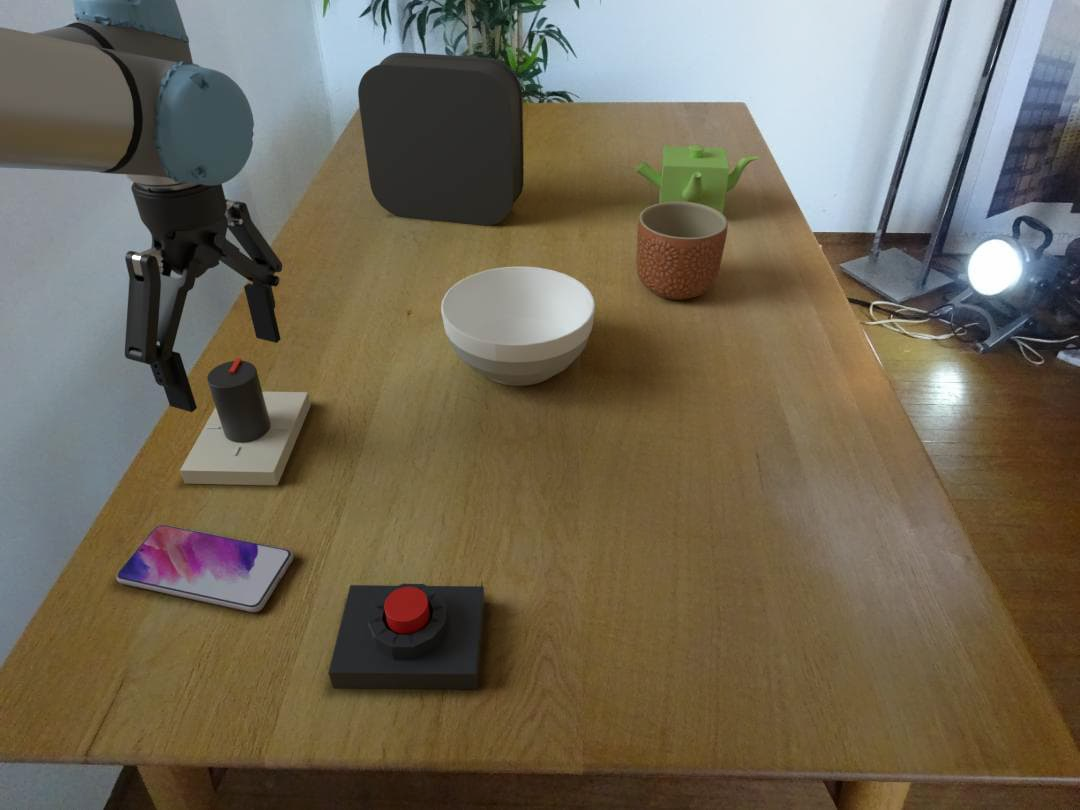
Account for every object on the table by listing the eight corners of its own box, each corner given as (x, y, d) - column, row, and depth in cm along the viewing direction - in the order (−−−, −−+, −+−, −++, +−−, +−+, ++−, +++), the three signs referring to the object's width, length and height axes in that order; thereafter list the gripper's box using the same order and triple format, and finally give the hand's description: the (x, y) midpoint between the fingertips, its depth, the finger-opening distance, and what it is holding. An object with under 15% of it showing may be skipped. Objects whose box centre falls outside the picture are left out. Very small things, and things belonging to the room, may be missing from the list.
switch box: (332, 688, 67) (324, 659, 64) (353, 600, 74) (347, 571, 71) (477, 689, 67) (474, 660, 64) (484, 601, 74) (482, 572, 71)
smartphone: (257, 610, 72) (111, 578, 75) (260, 616, 72) (114, 584, 75) (295, 549, 77) (158, 521, 80) (297, 555, 78) (160, 527, 81)
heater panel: (277, 485, 86) (273, 470, 84) (184, 484, 86) (179, 469, 85) (311, 405, 97) (307, 390, 95) (228, 403, 97) (224, 389, 96)
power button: (383, 634, 67) (380, 621, 65) (390, 599, 69) (387, 586, 68) (426, 634, 66) (425, 621, 65) (432, 599, 69) (430, 586, 68)
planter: (708, 316, 113) (719, 245, 106) (623, 300, 116) (628, 230, 109) (724, 275, 122) (735, 207, 115) (644, 262, 125) (650, 195, 119)
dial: (263, 443, 88) (247, 385, 83) (217, 442, 88) (199, 385, 83) (276, 414, 92) (261, 358, 87) (232, 414, 92) (216, 357, 87)
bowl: (605, 333, 109) (609, 276, 104) (574, 417, 95) (575, 356, 90) (473, 314, 113) (470, 258, 108) (424, 392, 99) (417, 332, 93)
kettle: (750, 213, 140) (760, 149, 133) (695, 237, 132) (704, 171, 125) (684, 186, 149) (691, 125, 142) (630, 207, 141) (635, 144, 134)
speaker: (374, 214, 139) (353, 62, 124) (392, 194, 146) (374, 47, 131) (513, 228, 135) (510, 72, 119) (526, 207, 141) (524, 57, 126)
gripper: (98, 239, 62) (173, 450, 75) (292, 137, 80) (325, 320, 93) (26, 223, 64) (110, 431, 77) (231, 128, 83) (271, 308, 95)
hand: (228, 371), depth 85 cm, fingers open, 13 cm apart
